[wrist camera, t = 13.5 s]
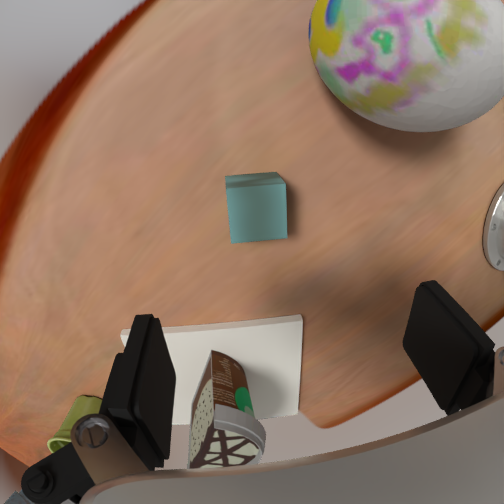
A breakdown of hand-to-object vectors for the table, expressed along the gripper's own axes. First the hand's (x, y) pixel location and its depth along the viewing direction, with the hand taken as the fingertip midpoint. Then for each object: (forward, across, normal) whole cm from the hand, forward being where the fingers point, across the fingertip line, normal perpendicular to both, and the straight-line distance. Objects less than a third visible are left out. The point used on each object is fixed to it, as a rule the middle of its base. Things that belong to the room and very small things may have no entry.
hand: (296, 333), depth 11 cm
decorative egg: (+16, -10, -12) cm, 23 cm away
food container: (+16, +4, +20) cm, 26 cm away
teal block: (+16, 0, 0) cm, 16 cm away
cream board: (+16, +5, +20) cm, 26 cm away
